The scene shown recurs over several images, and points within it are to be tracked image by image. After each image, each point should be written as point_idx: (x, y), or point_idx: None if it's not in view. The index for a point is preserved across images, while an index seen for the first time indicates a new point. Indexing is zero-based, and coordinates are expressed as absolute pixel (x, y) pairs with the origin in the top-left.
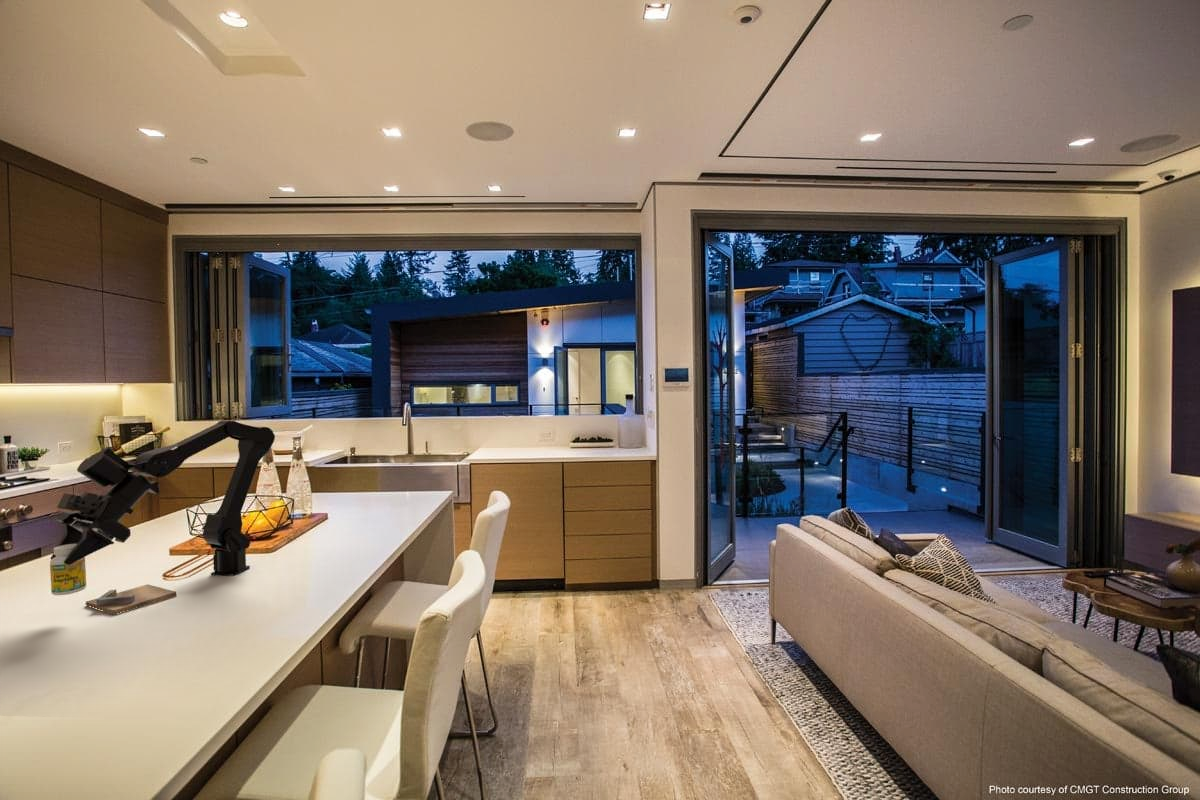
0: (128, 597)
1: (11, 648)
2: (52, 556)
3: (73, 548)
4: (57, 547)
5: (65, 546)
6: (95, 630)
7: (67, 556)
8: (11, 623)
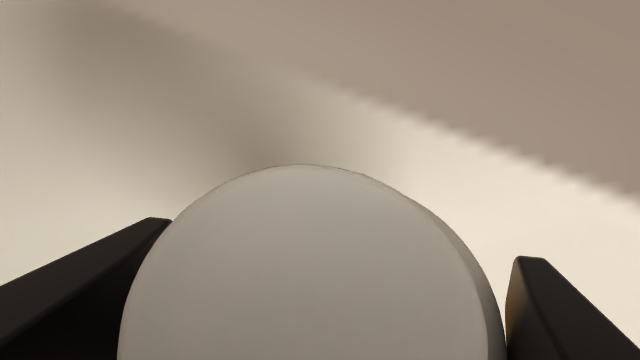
0: None
1: (232, 55)
2: (530, 269)
3: (126, 347)
4: (380, 235)
5: (313, 328)
6: None
7: (130, 244)
8: (626, 207)
